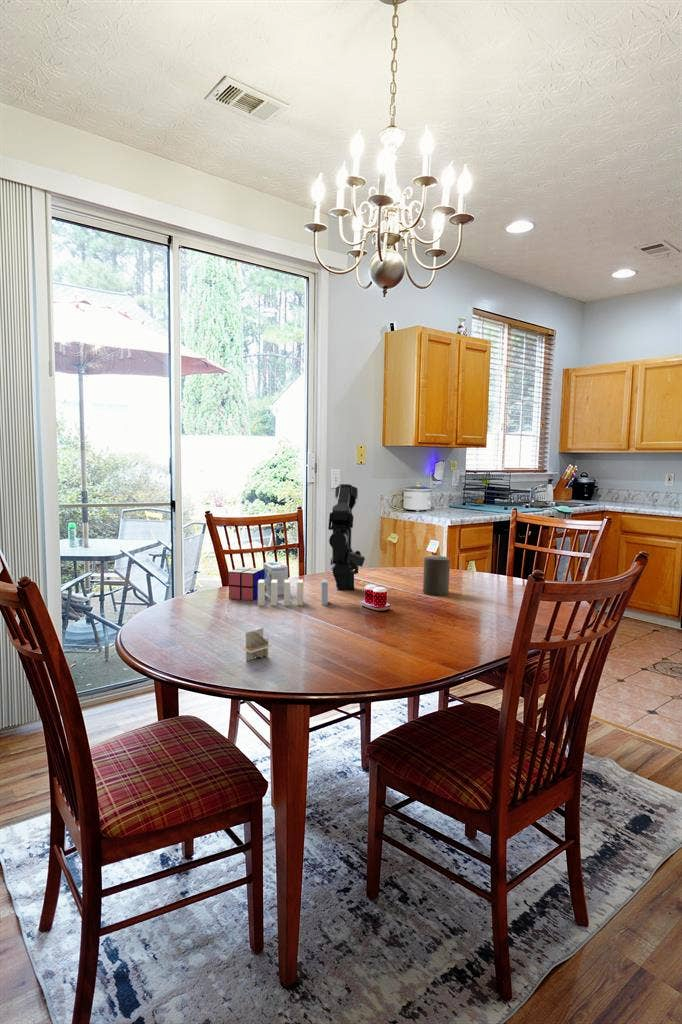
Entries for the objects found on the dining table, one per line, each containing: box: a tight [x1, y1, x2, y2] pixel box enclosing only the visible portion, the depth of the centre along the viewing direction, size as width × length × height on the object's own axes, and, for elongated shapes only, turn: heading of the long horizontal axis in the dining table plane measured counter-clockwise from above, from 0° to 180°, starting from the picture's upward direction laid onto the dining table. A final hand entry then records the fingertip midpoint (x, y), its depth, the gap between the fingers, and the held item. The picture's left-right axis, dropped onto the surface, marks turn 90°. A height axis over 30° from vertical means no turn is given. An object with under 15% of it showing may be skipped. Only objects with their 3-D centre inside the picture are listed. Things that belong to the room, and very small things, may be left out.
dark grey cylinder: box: [422, 554, 451, 597], centre depth 222 cm, size 10×10×15 cm
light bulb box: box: [262, 561, 289, 596], centre depth 220 cm, size 11×7×11 cm, turn 25°
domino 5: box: [321, 579, 329, 606], centre depth 205 cm, size 2×5×8 cm, turn 3°
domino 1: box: [257, 580, 266, 606], centre depth 204 cm, size 2×5×8 cm, turn 3°
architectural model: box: [242, 627, 272, 661], centre depth 147 cm, size 3×7×7 cm, turn 138°
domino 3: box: [283, 579, 291, 606], centre depth 204 cm, size 2×5×8 cm, turn 3°
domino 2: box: [270, 580, 279, 606], centre depth 204 cm, size 2×5×8 cm, turn 3°
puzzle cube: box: [228, 566, 265, 602], centre depth 213 cm, size 10×10×10 cm
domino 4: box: [296, 579, 304, 606], centre depth 204 cm, size 2×5×8 cm, turn 3°
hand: (340, 589), depth 205 cm, fingers closed
